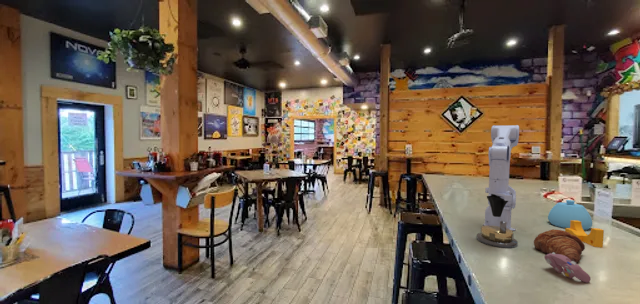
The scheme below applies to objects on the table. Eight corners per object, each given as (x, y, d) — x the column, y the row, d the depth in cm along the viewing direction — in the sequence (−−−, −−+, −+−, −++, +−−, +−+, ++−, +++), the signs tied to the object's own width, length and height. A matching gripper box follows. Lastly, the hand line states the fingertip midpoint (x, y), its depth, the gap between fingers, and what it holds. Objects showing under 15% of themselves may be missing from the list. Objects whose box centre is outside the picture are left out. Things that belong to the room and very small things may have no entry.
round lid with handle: (476, 232, 113) (477, 215, 112) (502, 233, 112) (503, 215, 112) (489, 241, 103) (490, 222, 102) (518, 242, 102) (519, 223, 102)
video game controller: (547, 272, 86) (538, 252, 86) (560, 265, 87) (551, 245, 86) (579, 289, 77) (570, 267, 76) (594, 281, 77) (585, 259, 76)
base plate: (468, 236, 112) (468, 233, 112) (495, 234, 116) (495, 230, 115) (497, 249, 100) (497, 245, 99) (526, 246, 103) (526, 242, 103)
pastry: (516, 246, 103) (517, 224, 103) (543, 241, 109) (544, 220, 109) (572, 266, 88) (573, 240, 87) (600, 258, 94) (601, 234, 93)
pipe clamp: (564, 235, 115) (565, 220, 115) (576, 236, 115) (577, 220, 114) (589, 247, 103) (590, 229, 103) (602, 247, 103) (603, 230, 103)
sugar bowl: (587, 224, 131) (588, 199, 130) (596, 233, 118) (598, 205, 117) (545, 219, 139) (546, 195, 138) (549, 227, 126) (551, 201, 125)
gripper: (522, 182, 95) (520, 222, 96) (499, 176, 110) (498, 211, 111) (499, 181, 96) (497, 221, 97) (480, 176, 111) (478, 210, 111)
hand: (496, 216), depth 104 cm, fingers closed
